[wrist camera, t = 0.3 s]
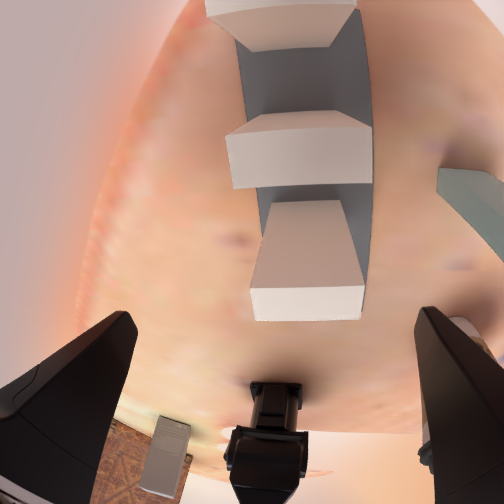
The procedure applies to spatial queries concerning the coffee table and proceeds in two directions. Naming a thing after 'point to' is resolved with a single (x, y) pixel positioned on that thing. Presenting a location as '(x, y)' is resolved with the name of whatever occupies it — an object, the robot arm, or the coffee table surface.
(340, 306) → the ivory domino
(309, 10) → the ivory end domino
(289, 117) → the ivory domino
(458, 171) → the teal domino
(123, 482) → the book
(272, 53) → the mat
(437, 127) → the coffee table surface
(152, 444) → the skincare box
